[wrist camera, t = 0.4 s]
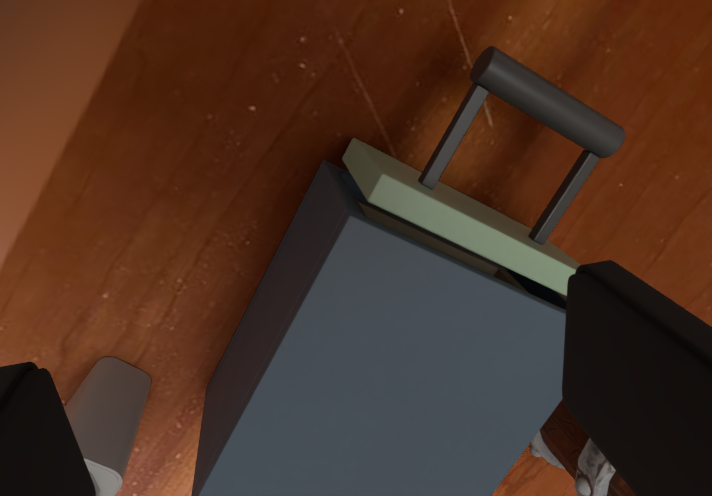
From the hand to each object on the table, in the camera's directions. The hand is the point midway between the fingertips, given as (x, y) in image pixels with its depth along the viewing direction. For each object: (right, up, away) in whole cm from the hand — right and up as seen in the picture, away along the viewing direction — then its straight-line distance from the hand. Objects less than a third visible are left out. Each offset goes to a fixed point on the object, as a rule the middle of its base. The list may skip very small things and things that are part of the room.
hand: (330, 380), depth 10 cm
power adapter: (-13, -6, +20) cm, 25 cm away
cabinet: (+1, -2, +21) cm, 21 cm away
